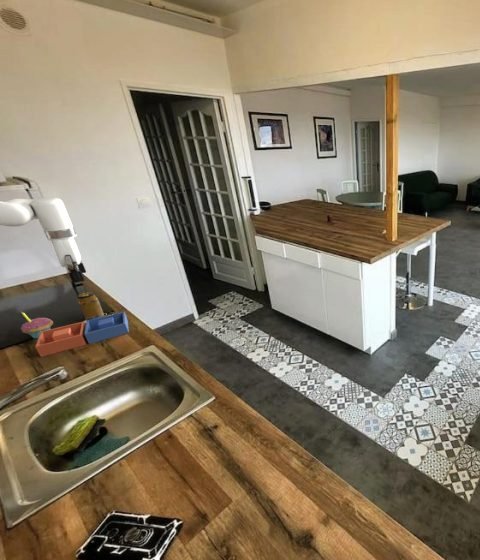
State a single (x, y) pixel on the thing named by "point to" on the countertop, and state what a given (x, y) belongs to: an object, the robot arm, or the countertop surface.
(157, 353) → the countertop surface
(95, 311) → the condiment
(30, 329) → the cupcake
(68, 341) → the terracotta bin
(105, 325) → the blue block
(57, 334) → the terracotta block
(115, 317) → the blue bin
